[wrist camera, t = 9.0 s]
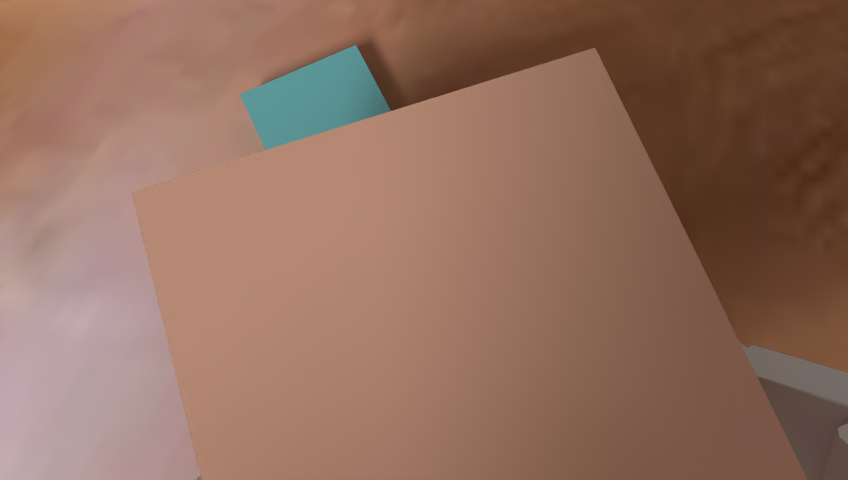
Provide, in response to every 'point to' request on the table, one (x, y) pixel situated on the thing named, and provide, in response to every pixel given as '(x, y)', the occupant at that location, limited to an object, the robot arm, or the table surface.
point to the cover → (455, 301)
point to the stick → (315, 99)
